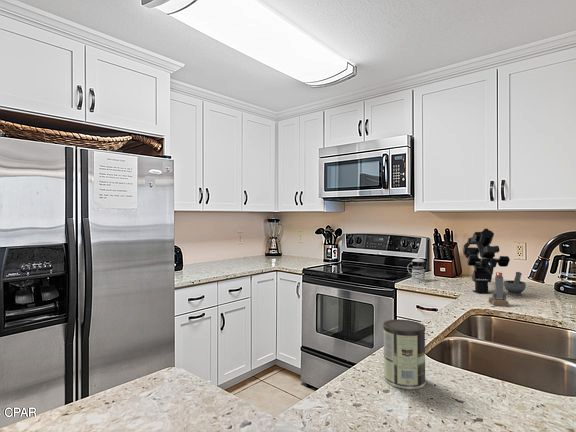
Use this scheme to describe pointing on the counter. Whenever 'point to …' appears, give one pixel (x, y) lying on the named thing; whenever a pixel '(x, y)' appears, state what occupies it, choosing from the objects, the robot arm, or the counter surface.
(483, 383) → the counter surface
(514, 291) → the mortar and pestle
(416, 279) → the french press
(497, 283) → the nutcracker lever
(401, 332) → the coffee can
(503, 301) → the stand
